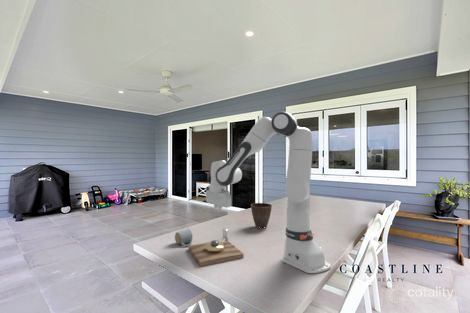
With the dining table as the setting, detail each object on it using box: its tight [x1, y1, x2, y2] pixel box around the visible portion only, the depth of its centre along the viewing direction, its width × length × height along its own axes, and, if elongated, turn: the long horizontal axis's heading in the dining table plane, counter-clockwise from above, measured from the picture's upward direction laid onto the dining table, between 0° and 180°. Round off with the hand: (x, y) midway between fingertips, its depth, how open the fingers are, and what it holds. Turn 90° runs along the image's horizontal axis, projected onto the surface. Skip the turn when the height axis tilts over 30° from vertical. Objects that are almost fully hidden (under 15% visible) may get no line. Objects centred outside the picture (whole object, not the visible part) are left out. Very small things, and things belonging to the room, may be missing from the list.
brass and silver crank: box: [205, 228, 229, 253], centre depth 119 cm, size 10×16×8 cm, turn 145°
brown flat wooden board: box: [188, 240, 245, 267], centre depth 116 cm, size 22×22×2 cm
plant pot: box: [250, 202, 273, 229], centre depth 162 cm, size 15×15×16 cm
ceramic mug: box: [174, 228, 193, 248], centre depth 130 cm, size 11×8×8 cm
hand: (218, 212), depth 129 cm, fingers closed
